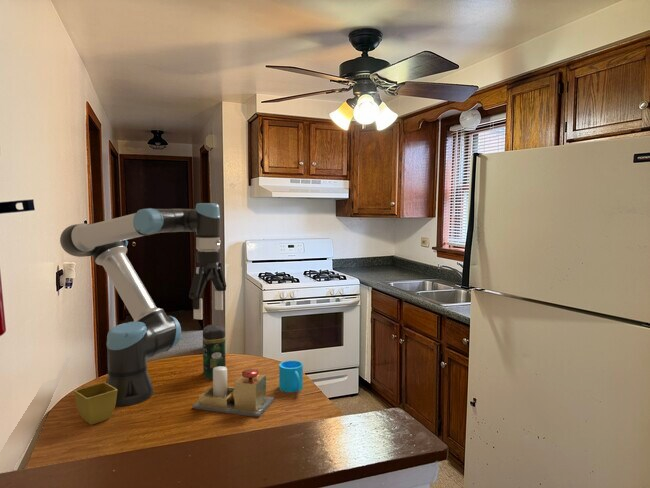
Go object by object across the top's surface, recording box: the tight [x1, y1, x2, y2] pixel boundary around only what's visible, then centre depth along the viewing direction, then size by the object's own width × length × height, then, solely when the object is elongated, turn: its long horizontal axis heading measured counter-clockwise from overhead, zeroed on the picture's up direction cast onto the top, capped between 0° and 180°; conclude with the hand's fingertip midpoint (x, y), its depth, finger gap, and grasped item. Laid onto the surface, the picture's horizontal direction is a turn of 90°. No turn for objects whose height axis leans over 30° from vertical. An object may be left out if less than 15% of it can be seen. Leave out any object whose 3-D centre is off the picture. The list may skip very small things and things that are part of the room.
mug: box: [278, 360, 304, 393], centre depth 150 cm, size 12×8×8 cm
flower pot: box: [73, 381, 118, 425], centre depth 127 cm, size 9×9×9 cm
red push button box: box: [192, 368, 275, 418], centre depth 138 cm, size 22×12×11 cm, turn 75°
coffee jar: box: [202, 323, 227, 380], centre depth 162 cm, size 10×8×19 cm
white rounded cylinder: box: [212, 366, 228, 398], centre depth 139 cm, size 4×4×10 cm
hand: (209, 314), depth 145 cm, fingers open, 13 cm apart
